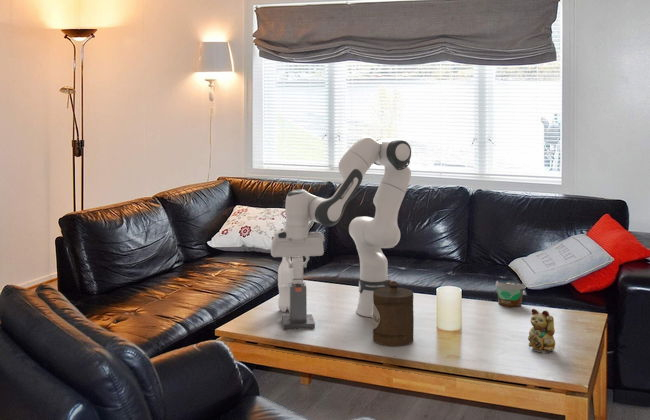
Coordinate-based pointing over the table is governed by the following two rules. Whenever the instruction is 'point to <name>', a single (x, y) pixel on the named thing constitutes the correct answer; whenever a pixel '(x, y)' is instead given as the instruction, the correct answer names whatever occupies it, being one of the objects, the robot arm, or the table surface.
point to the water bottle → (284, 284)
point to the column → (297, 270)
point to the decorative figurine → (542, 332)
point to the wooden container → (393, 315)
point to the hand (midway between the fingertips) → (297, 267)
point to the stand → (297, 310)
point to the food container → (510, 294)
